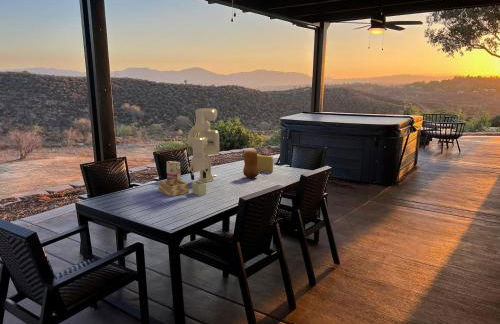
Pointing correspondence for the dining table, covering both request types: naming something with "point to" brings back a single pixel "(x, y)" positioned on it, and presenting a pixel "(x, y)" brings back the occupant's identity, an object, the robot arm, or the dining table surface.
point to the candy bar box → (173, 170)
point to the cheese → (265, 163)
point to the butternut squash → (251, 164)
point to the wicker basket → (173, 187)
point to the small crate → (199, 188)
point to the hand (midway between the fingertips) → (198, 178)
